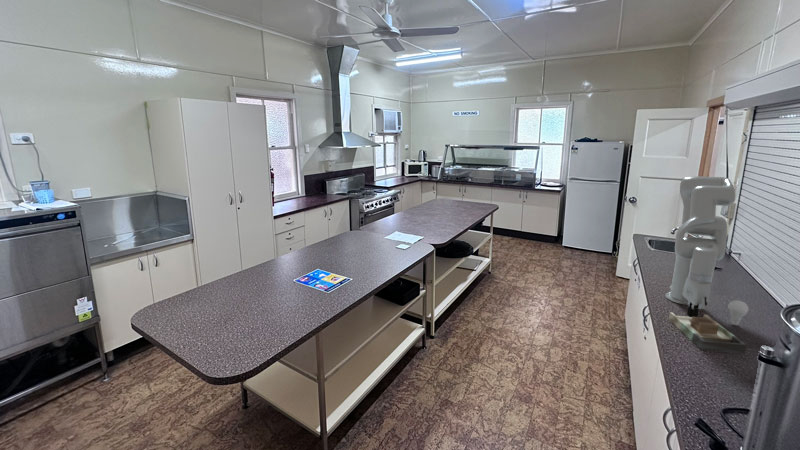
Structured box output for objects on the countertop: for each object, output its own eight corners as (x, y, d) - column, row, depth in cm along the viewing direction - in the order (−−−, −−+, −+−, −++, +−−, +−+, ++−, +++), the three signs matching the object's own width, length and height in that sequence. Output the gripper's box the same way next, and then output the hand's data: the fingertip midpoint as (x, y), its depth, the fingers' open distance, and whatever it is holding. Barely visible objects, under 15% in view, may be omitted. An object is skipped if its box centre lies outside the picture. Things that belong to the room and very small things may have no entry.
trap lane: (668, 319, 153) (669, 312, 152) (705, 321, 150) (706, 314, 149) (701, 349, 131) (702, 341, 130) (745, 353, 128) (747, 345, 127)
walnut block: (690, 325, 144) (692, 316, 143) (707, 326, 143) (709, 317, 142) (699, 333, 138) (701, 324, 137) (716, 334, 137) (718, 325, 136)
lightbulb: (725, 325, 146) (730, 302, 144) (723, 319, 151) (728, 296, 148) (745, 330, 143) (751, 306, 140) (743, 324, 147) (748, 300, 145)
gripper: (679, 269, 151) (672, 307, 156) (700, 283, 137) (692, 325, 142) (699, 269, 150) (691, 308, 154) (723, 284, 136) (713, 326, 140)
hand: (692, 316), depth 148 cm, fingers closed
